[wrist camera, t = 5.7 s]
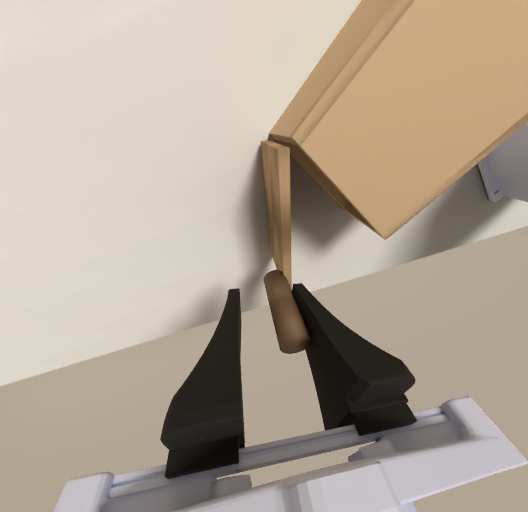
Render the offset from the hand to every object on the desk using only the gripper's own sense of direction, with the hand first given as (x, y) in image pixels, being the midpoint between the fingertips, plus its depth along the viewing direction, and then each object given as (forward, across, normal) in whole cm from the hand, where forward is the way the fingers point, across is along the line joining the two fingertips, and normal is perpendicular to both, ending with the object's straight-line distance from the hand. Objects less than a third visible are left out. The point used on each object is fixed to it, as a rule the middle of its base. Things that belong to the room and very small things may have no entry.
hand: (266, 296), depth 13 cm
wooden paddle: (+7, -1, -4) cm, 8 cm away
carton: (+7, -8, -11) cm, 15 cm away
